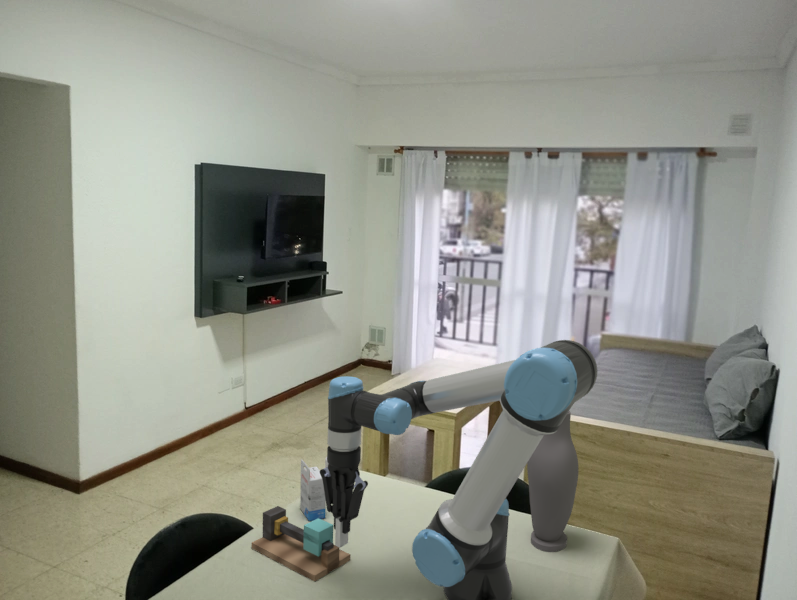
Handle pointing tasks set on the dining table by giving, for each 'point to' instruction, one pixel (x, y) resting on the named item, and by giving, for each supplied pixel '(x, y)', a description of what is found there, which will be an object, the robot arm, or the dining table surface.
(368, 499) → the dining table surface
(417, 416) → the robot arm
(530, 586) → the dining table surface
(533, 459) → the vase
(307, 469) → the ink box
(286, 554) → the cradle board
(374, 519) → the dining table surface
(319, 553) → the sleeve
